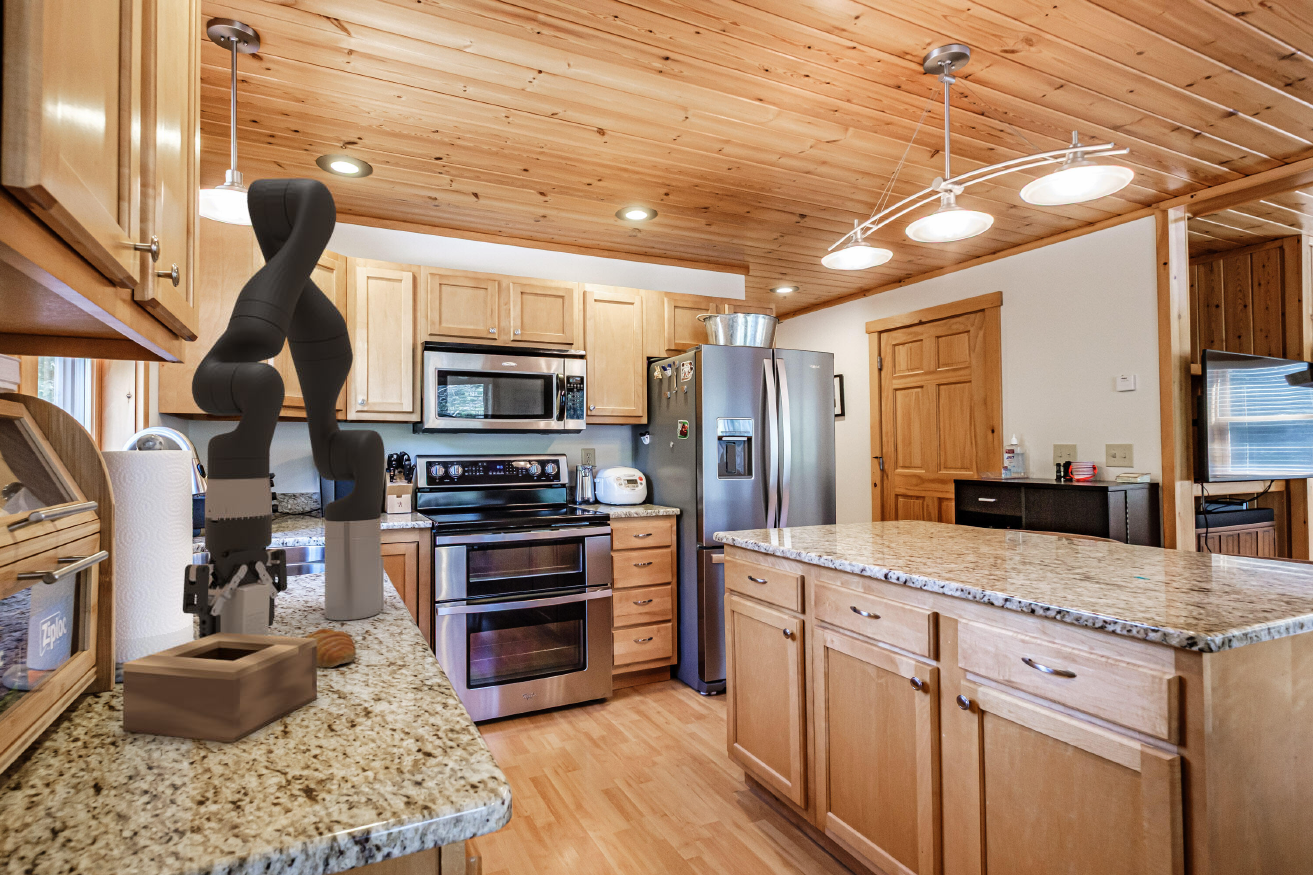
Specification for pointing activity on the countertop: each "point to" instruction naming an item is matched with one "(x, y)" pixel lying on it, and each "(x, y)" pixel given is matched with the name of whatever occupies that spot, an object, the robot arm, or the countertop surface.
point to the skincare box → (246, 610)
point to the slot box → (219, 686)
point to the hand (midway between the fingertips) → (238, 634)
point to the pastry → (333, 647)
